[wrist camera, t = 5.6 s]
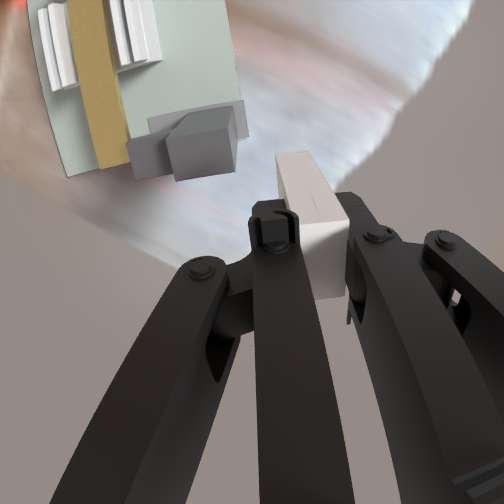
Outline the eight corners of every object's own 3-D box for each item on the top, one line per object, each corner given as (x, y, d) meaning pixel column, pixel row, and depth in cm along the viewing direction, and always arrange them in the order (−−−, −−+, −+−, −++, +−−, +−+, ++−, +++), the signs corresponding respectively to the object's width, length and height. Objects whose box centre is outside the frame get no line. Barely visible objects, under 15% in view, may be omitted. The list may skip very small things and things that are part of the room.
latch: (152, 120, 27) (116, 150, 19) (232, 105, 27) (227, 127, 19) (159, 150, 29) (128, 190, 21) (237, 136, 28) (235, 172, 21)
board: (31, -5, 19) (-19, -8, 12) (215, -70, 18) (206, -107, 11) (71, 173, 31) (33, 209, 24) (249, 135, 30) (250, 164, 23)
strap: (65, -28, 15) (57, -31, 14) (108, -47, 15) (101, -51, 14) (100, 167, 25) (93, 172, 23) (142, 156, 24) (137, 161, 23)
